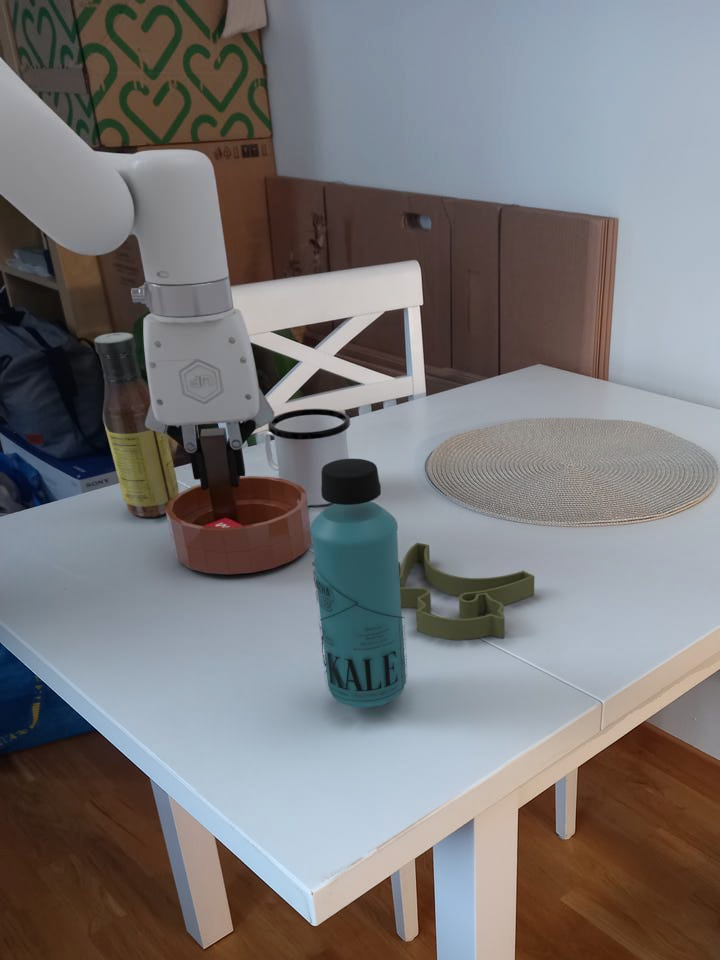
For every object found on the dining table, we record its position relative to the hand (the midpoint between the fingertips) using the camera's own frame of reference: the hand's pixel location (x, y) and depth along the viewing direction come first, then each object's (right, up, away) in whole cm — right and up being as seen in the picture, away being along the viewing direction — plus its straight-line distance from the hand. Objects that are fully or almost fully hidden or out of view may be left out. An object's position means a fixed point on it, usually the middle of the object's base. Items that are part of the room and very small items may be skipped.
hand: (221, 482), depth 96 cm
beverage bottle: (+18, -22, -22) cm, 36 cm away
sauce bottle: (-11, -1, +12) cm, 17 cm away
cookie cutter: (+23, -13, -7) cm, 27 cm away
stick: (0, -5, +3) cm, 6 cm away
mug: (+6, +1, +16) cm, 17 cm away
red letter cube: (0, -7, +1) cm, 7 cm away
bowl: (+2, -7, +3) cm, 7 cm away
